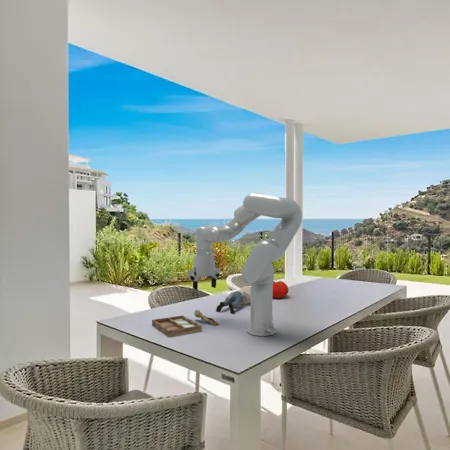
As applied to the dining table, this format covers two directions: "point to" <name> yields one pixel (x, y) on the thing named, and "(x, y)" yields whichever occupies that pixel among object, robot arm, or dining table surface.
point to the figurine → (204, 317)
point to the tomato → (279, 289)
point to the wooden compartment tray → (176, 326)
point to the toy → (236, 299)
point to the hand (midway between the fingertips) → (204, 288)
